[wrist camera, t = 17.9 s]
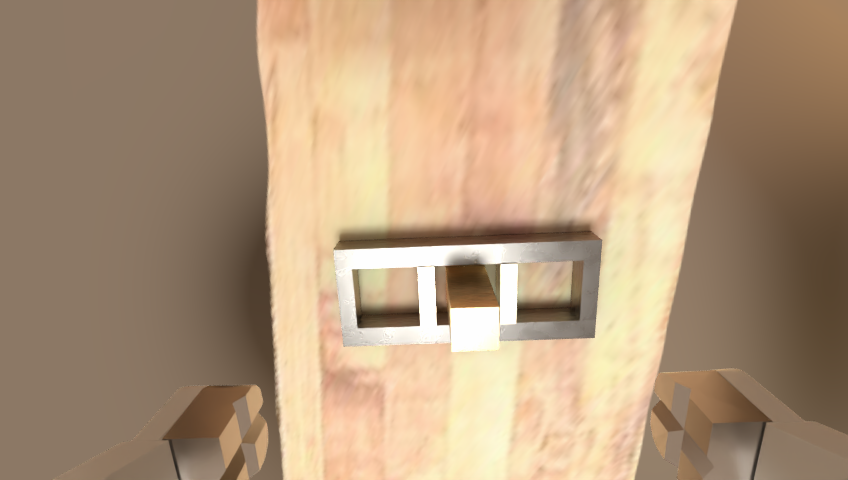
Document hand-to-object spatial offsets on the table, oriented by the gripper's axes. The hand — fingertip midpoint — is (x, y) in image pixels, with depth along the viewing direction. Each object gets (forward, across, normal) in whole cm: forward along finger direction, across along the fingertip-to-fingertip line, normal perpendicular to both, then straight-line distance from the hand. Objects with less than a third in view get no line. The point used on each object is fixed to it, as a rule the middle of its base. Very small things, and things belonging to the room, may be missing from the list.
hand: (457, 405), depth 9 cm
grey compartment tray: (+35, -3, +12) cm, 37 cm away
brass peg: (+35, -3, +12) cm, 37 cm away
